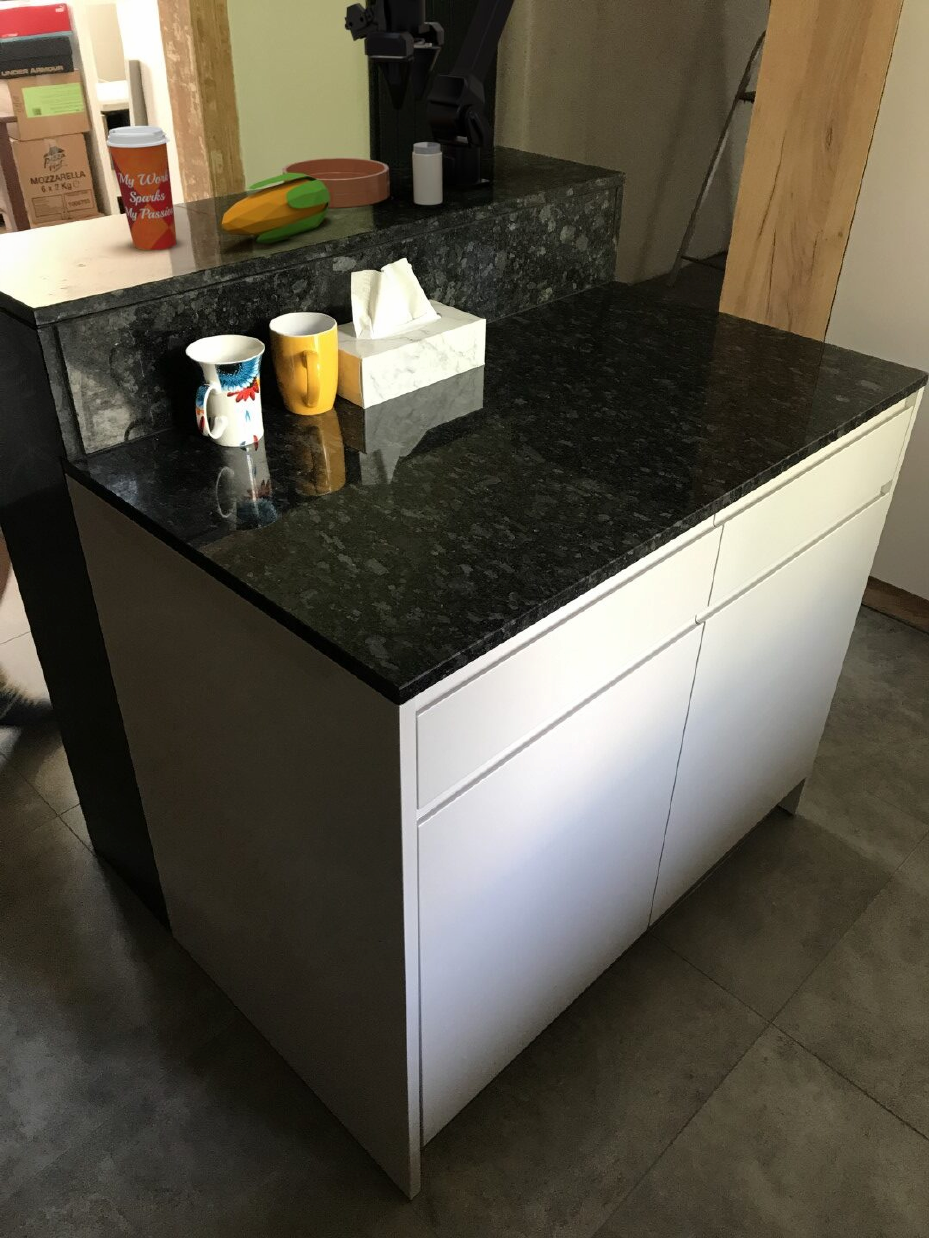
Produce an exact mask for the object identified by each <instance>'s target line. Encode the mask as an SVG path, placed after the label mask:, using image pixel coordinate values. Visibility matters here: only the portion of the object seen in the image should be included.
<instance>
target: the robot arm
mask: <svg viewBox="0 0 929 1238" xmlns="http://www.w3.org/2000/svg"><path fill="white" fill-rule="evenodd" d="M514 3H515V0H479V1H478V4H477V6H476V9H475V12H474V15H473V17H472V20H471V23H470V25H469V28H468V30H467V34H466V36H465V39H464V40H463V44H462V47H461V49H460V52H459V54H458V56H457V60H456V62H455V65H454V67H453V69H452V70H451V72H450V73H449V74H447V75H444V74H437V75H436V77H435V79H434V80H433V85H432V89H431V91H430V93H429V95H428V96H427V97H426V101H427V102H428V103H427V107H426V116H427V121H428V124H429V128H430V131H431V136H432V139H433V143H442V144H441V152H442V184H444V185H450V186H456V187H459V188H467V187H470V186H471V187H472V186H474V187H479V186H485V185H489V184H490V180H488V179H485V178H483V149H484V148H487V147H488V146H491V145H492V142H493V137H494V129H493V127H492V126H491V124H490V123H489V122H488V120H487V119H486V117H485V116H484V110H485V106H486V98H485V91H484V81H485V79H486V76H487V74H488V71H489V68H490V66H491V63H492V60H493V58H494V56H495V53H496V50H497V47H498V44H499V42H500V39H501V38H502V34H503V32H504V29H505V26H506V24H507V21H508V18H509V16H510V13H511V11H512V8H513V5H514ZM345 11H346V13H345V14H346V15H345V16H344V21H345V24H344V29H345V30H346V31H349V32H350V35H351V37H352V40H353V42H356V41H357V40H363V39H364V40H363V45H364V47H363V49H364V55H365V56H368V60H370V62H372V63H374V64H375V65H376V66H377V67H378V68H379V69H380V70H381V72H382V75H383V78H384V81H385V84H386V87H387V91H388V93H389V98H390V101H391V105H392V108H393V110H394V111H401V110H402V108H403V105H404V101H405V97H406V94H407V90H408V85H409V80H410V86H411V87H410V88H411V93H412V97H413V98H412V99H413V101H415V102H420V101H422V99H423V95H424V93H425V91H426V88H427V85H428V83H429V82H428V81H429V79H430V76H431V74H432V71H433V68H434V66H435V63H436V61H437V58H438V55H439V53H440V52H441V49H442V47H441V45H444V44H445V29H444V28H443V27H442V26H441V24H440V22H436V21H435V22H434V21H433V22H431V21H426V0H377V3H376V4H373V5H371V6H367V7H364V6H363V5H362V4H361V3H360V2H357V3H353V4H351V5H349V6H346V10H345ZM433 44H434V46H433Z"/></svg>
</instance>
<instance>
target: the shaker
mask: <svg viewBox="0 0 929 1238" xmlns="http://www.w3.org/2000/svg"><path fill="white" fill-rule="evenodd" d="M412 182H413V183H412V184H413V185H412V186H413V187H412V188H413V190H412V191H413V203H414V204H417V205H422V206H434V205H439V204H442V203H443V199H444V198H443V183H442V144H441V143H440V142H434V141H432V142H431V141H423V142H416V143H414V144H413V151H412Z"/></svg>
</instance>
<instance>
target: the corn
mask: <svg viewBox="0 0 929 1238" xmlns="http://www.w3.org/2000/svg"><path fill="white" fill-rule="evenodd" d="M295 178H297V179H295ZM289 179H293V180H290V181H287V182H284V183H283V181H284V180H289ZM279 182H281V183H279ZM276 183H278V184H276ZM272 184H275V185H272ZM268 185H272V186H269V187H266V188H263V187H265V186H268ZM259 188H263V189H260V190H258V191H257V192H255V193H253V194H250V195H249V196H247V197H245V198H243V199H241V200H239V201H237V202H235V203H234V204H233V205H232V206H231V207H230V208H229V209H228V210H226V212H224V213H223V217H222V221H221V228H222V229H223V230H224V231H226V232H227V233H228V234H230V235H237V236H253V237H257V239H256V241H255V242H256V243H260V244H263V243H275V242H280V241H283V240H287V239H288V240H289V239H292V238H293V237H294V236H293V235H297V234H300V233H304V232H307V231H311V230H314V229H317V228H318V227H319V226H320V225H321V223H322V222H323V221H324V220H325V217H326V215H327V213H328V209H329V208H328V201H329V200H330V196H329V192H328V190H327V188H326V186H325V185H324V184H323V183H322V182H321V181H318V180H317V179H315V178H313V177H310V176H308V175H305V174H302V173H286V174H283V173H282V174H280V175H277V176H273V177H270V178H267V179H264V180H261V181H258V182H255V183H253V184H252V185H250V186H249V187H248V188H246V189H249V190H256V189H259Z"/></svg>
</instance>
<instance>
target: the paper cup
mask: <svg viewBox="0 0 929 1238" xmlns="http://www.w3.org/2000/svg"><path fill="white" fill-rule="evenodd" d="M166 135H167V133H166V131H164V130H163V129H162V127H159V126H154V125H132V126H130V125H129V126H121V127H116V128H112V129H109V131H108V136H107V139H106V142H105V145H107V146H108V147H109V150H110V155H111V159H112V163H113V168H114V172H115V176H116V180H117V183H118V187H119V191H120V196H121V200H122V203H123V208H124V212H125V217H126V220H127V224H128V229H129V233H130V236H131V239H132V244H133V246H134V248H135V249H138V250H142V251H143V250H144V251H159V250H165V249H169V248H172V247H175V246H176V244H177V232H176V223H175V220H176V219H175V212H174V210H175V209H174V202H173V193H172V191H173V190H172V182H171V173H170V165H169V156H168V155H169V154H168V145H167V143H168V142H170V138H168V137H167V136H166Z"/></svg>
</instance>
